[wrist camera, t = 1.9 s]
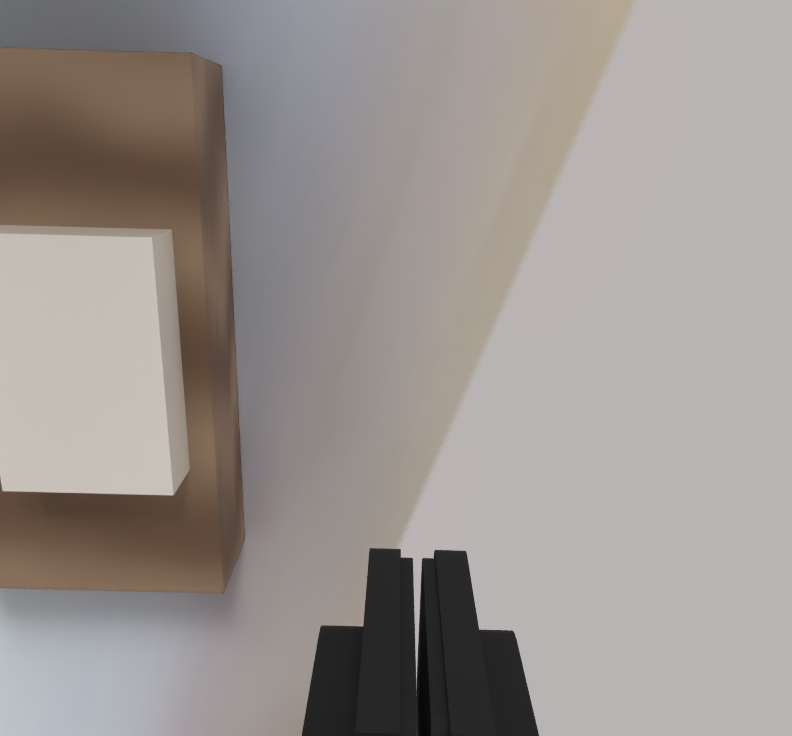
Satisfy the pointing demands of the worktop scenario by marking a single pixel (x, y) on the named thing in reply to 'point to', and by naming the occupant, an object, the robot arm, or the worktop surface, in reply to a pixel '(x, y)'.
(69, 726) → the worktop surface
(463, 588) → the robot arm
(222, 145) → the walnut block
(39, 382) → the ceramic tile
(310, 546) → the worktop surface
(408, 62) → the worktop surface
